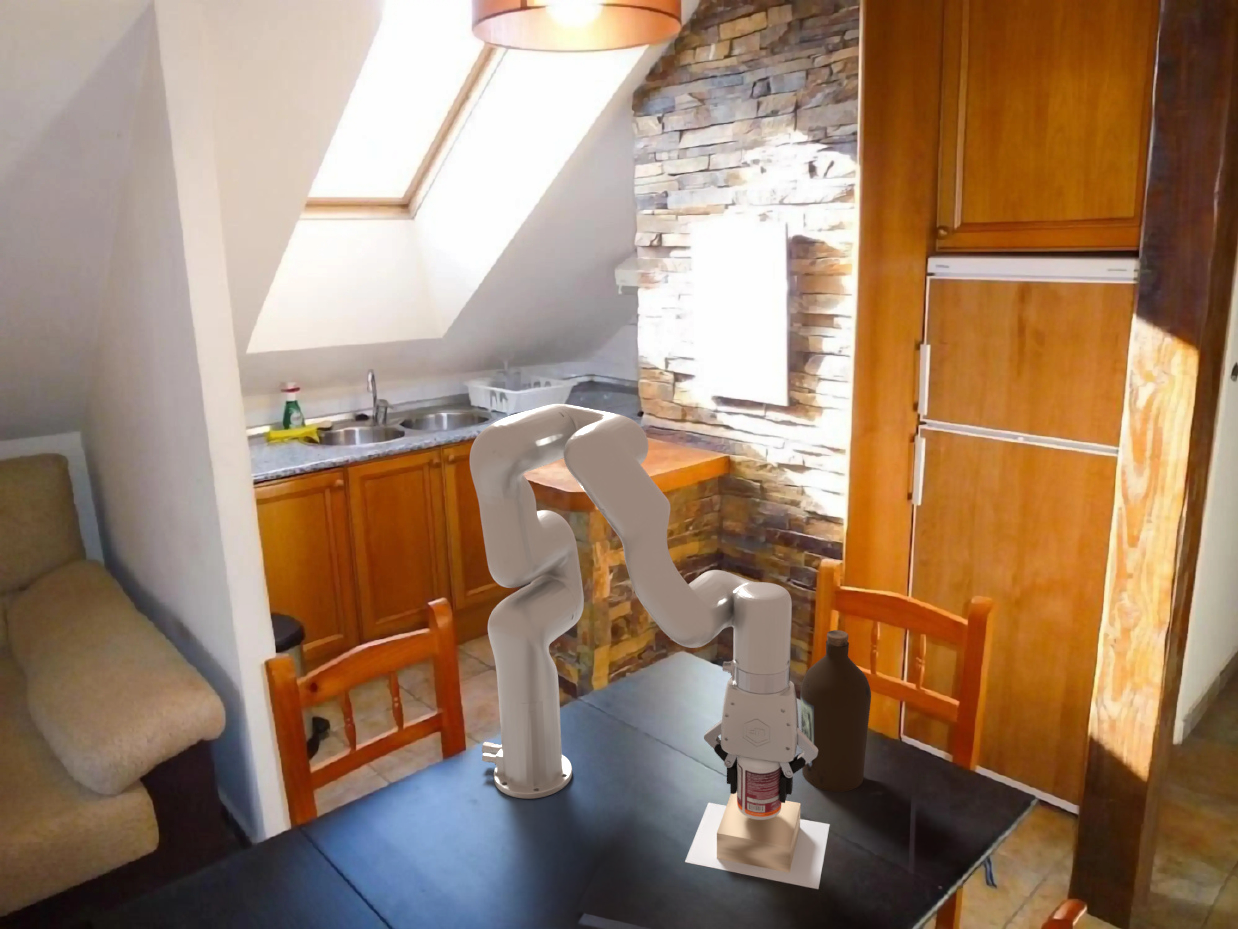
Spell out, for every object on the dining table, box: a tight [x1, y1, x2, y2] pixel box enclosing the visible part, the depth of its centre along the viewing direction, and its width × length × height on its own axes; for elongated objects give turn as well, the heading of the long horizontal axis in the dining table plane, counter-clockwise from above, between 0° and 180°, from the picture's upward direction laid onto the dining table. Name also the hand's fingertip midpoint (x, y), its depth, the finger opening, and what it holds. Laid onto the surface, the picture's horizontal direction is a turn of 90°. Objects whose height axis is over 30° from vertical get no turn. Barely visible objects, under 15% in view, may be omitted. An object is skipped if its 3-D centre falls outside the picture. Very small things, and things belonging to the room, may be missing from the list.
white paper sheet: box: [684, 802, 831, 890], centre depth 127 cm, size 18×14×1 cm
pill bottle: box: [737, 756, 782, 820], centre depth 124 cm, size 6×6×11 cm
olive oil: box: [799, 629, 872, 793], centre depth 140 cm, size 11×11×25 cm
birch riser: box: [717, 792, 802, 873], centre depth 126 cm, size 10×10×4 cm
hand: (759, 791), depth 125 cm, fingers closed on pill bottle, 6 cm apart
